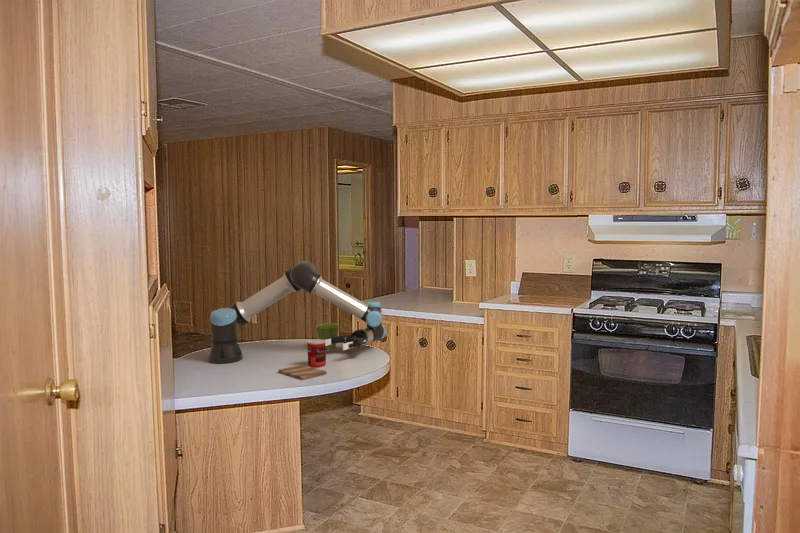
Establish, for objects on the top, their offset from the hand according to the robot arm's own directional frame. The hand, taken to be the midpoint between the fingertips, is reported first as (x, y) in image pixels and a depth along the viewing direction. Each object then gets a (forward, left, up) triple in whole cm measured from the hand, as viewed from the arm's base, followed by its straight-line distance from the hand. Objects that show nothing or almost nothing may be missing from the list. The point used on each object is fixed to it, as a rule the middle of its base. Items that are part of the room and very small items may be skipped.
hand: (331, 345), depth 276 cm
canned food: (+2, -10, -7) cm, 12 cm away
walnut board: (+8, -22, -7) cm, 24 cm away
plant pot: (-22, +14, -7) cm, 27 cm away
